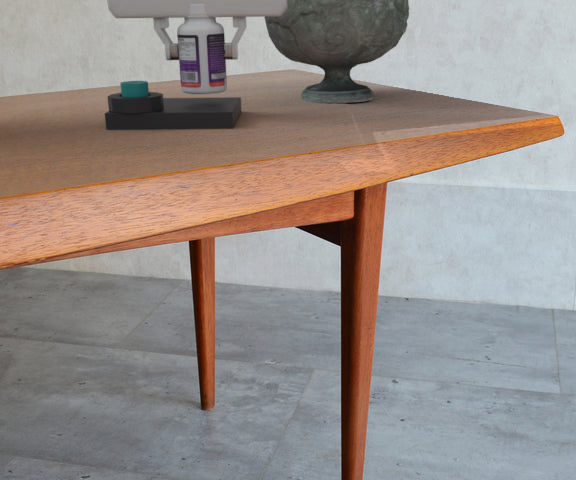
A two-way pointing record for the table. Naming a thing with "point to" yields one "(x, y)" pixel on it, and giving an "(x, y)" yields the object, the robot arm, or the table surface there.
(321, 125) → the table surface
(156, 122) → the scale
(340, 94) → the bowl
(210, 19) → the pill bottle
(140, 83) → the button
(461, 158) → the table surface
